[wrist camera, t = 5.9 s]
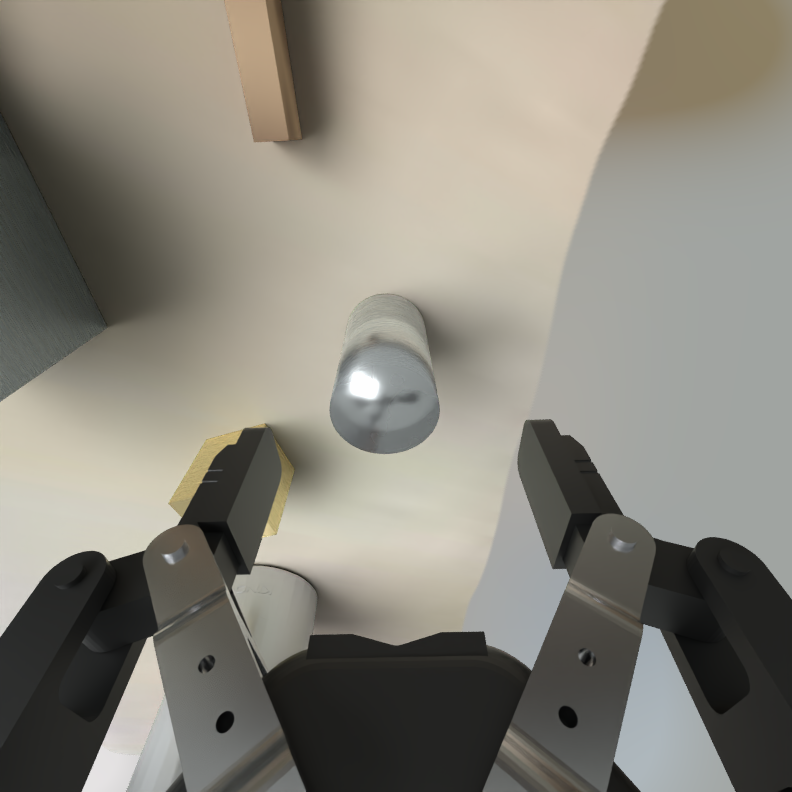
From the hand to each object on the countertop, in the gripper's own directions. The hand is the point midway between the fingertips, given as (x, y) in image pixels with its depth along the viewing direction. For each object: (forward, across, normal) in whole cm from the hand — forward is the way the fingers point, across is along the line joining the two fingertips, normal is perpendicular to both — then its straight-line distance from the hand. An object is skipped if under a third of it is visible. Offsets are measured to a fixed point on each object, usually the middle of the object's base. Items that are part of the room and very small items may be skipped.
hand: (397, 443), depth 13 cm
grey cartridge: (+9, 0, 0) cm, 9 cm away
